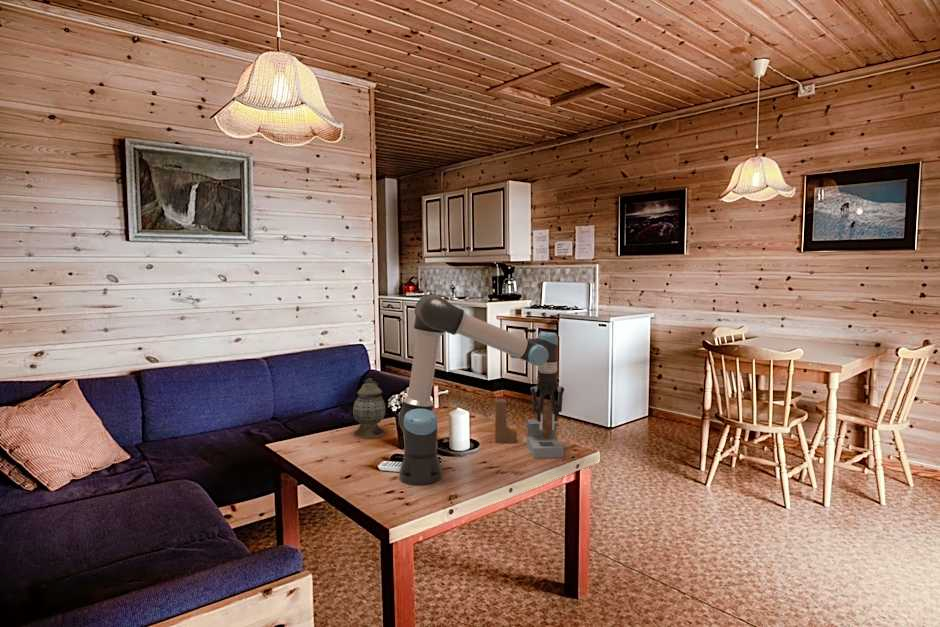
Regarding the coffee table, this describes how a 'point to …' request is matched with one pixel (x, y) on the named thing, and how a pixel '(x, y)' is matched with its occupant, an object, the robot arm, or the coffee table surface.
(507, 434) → the wooden block
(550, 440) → the socket block
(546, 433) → the dowel
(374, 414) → the lantern
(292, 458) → the coffee table surface
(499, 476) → the coffee table surface
